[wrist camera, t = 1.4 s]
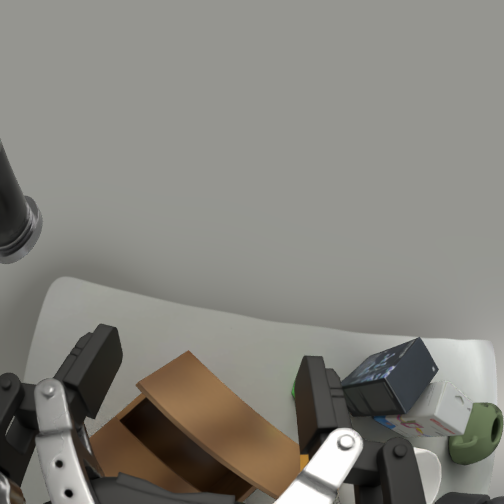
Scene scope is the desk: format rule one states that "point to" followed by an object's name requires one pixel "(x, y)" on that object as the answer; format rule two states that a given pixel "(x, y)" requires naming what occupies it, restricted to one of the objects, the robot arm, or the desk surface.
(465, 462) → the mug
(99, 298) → the desk surface
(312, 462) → the robot arm
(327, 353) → the desk surface
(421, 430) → the ink box
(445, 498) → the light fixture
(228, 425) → the flap
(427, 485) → the cup
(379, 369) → the box
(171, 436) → the brown boxy piece
